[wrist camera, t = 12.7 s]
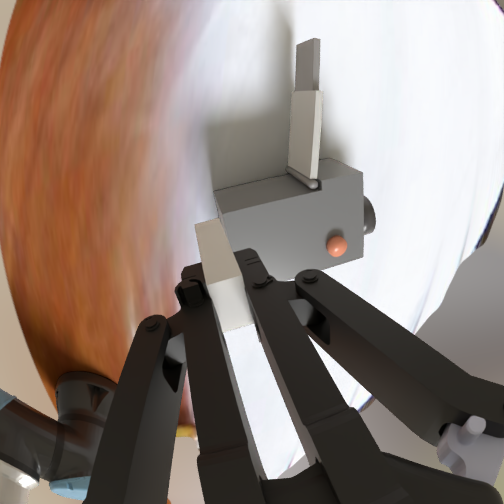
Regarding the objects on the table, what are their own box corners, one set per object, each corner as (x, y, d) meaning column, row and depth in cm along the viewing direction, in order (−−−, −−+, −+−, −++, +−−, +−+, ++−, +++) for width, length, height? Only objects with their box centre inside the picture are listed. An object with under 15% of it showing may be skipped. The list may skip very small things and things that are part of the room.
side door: (291, 46, 30) (317, 35, 23) (299, 47, 30) (326, 37, 23) (285, 172, 37) (308, 189, 31) (293, 172, 38) (317, 189, 31)
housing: (229, 259, 42) (242, 297, 34) (211, 183, 36) (220, 206, 28) (350, 227, 44) (383, 254, 36) (347, 155, 38) (385, 170, 31)
